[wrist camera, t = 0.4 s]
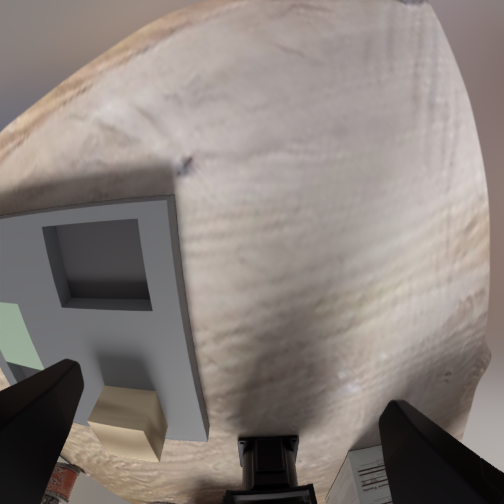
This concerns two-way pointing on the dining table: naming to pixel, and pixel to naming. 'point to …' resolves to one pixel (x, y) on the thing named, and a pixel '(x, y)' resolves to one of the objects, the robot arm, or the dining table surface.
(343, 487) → the supplement box
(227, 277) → the dining table surface
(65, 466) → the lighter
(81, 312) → the board
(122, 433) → the maple block
